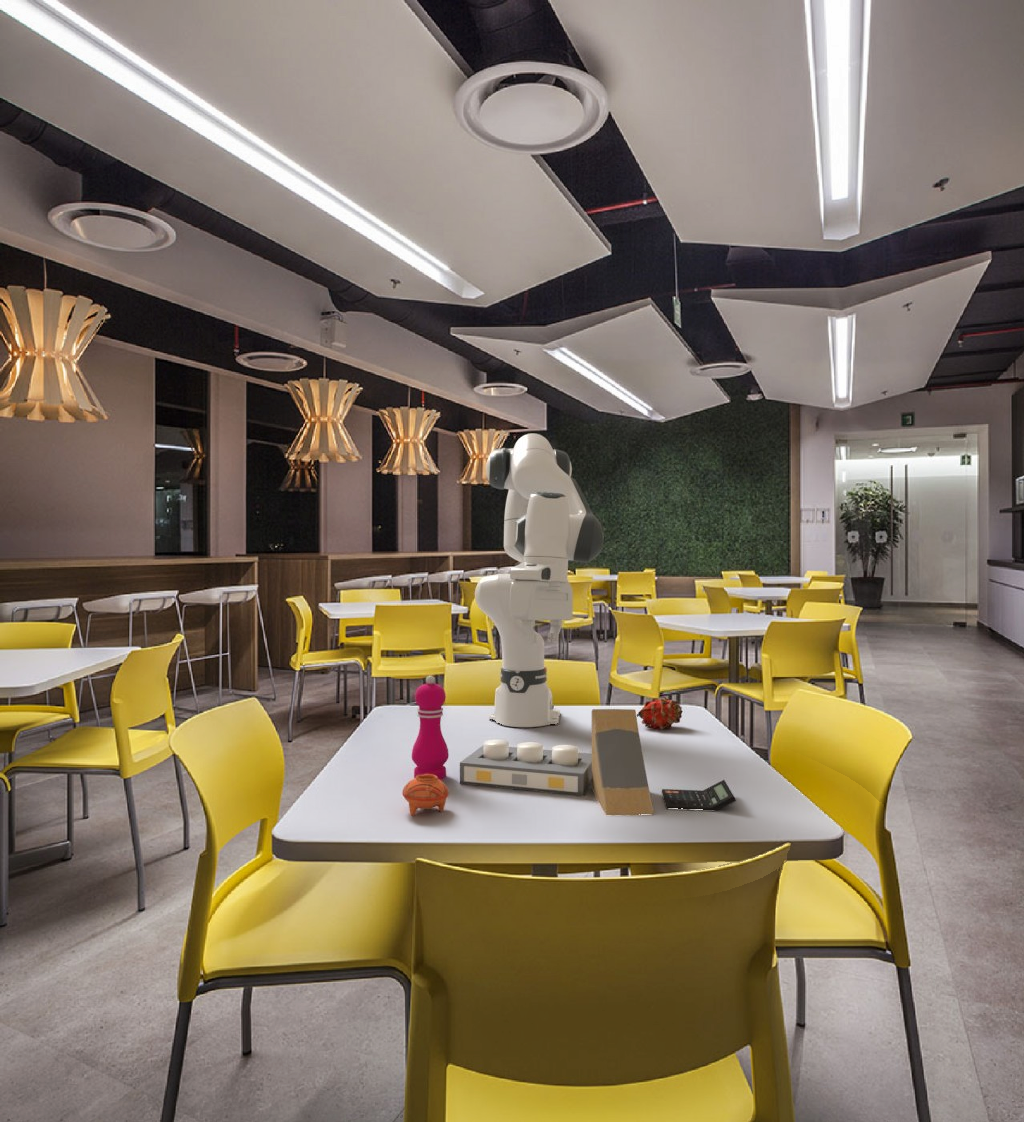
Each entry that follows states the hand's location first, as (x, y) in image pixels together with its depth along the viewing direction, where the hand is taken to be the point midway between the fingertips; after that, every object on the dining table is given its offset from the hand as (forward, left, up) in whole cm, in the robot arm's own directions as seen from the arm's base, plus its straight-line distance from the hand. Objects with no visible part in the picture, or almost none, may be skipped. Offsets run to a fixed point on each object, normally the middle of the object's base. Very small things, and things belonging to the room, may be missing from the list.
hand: (541, 643), depth 143 cm
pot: (+24, -14, -27) cm, 39 cm away
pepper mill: (+6, -21, -27) cm, 34 cm away
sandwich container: (+9, +17, -27) cm, 33 cm away
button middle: (+1, -2, -24) cm, 24 cm away
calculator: (+5, +30, -27) cm, 41 cm away
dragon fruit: (-50, +18, -27) cm, 59 cm away
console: (+1, -2, -26) cm, 27 cm away
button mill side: (+1, -9, -24) cm, 26 cm away
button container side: (+1, +5, -24) cm, 25 cm away
